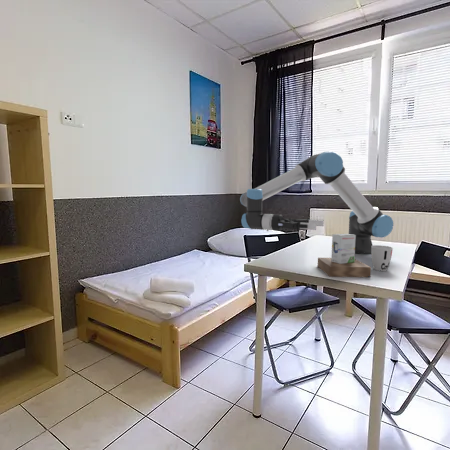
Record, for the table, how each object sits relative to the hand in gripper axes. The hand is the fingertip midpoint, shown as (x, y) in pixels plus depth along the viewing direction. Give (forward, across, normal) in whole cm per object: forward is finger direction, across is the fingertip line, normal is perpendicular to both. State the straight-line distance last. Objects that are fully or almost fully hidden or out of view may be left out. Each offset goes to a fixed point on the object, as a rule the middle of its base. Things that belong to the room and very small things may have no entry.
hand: (319, 224), depth 128 cm
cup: (+23, -12, -20) cm, 33 cm away
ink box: (+10, 0, -15) cm, 18 cm away
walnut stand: (+10, 0, -19) cm, 22 cm away
